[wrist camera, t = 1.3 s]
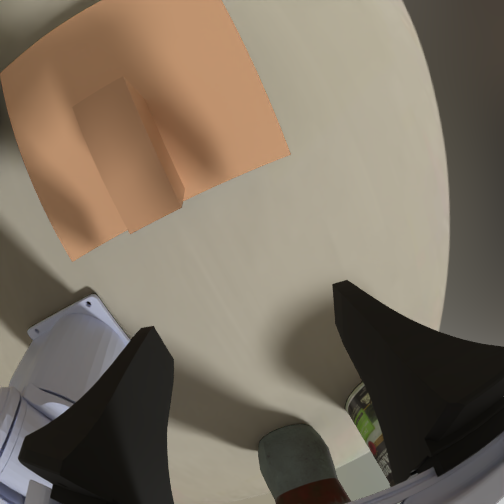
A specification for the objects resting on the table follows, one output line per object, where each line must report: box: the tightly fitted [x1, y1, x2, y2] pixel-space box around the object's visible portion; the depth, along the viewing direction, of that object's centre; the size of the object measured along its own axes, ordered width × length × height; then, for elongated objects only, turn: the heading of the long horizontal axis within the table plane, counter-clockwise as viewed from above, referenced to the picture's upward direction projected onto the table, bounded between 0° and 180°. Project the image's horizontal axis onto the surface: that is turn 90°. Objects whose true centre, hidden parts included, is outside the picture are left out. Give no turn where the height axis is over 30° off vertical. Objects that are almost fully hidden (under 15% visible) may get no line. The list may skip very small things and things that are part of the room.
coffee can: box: [345, 382, 395, 487], centre depth 24 cm, size 10×10×14 cm
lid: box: [0, 0, 291, 262], centre depth 9 cm, size 13×13×6 cm
